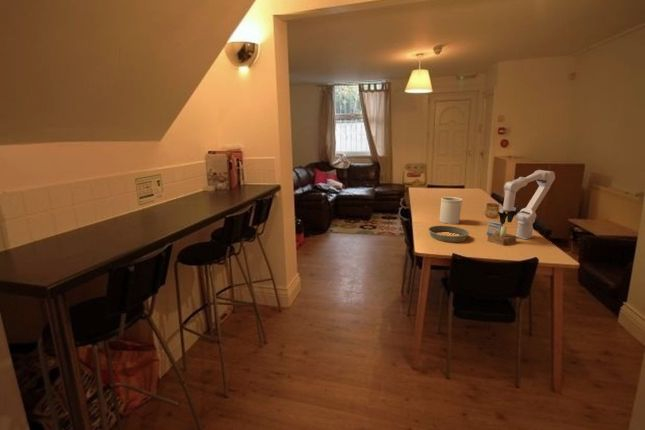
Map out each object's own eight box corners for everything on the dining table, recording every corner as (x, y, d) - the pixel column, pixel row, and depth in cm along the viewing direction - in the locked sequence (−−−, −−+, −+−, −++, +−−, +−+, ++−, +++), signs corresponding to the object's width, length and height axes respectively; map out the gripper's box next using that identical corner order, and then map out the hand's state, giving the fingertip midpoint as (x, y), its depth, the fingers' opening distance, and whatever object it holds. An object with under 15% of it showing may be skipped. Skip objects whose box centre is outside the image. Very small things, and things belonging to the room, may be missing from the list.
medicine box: (486, 234, 229) (488, 221, 227) (488, 233, 232) (490, 220, 230) (499, 237, 223) (500, 224, 221) (501, 235, 226) (503, 222, 224)
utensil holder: (456, 219, 266) (459, 196, 261) (462, 224, 251) (465, 200, 247) (437, 218, 267) (439, 196, 263) (441, 224, 253) (443, 200, 248)
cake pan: (449, 230, 238) (450, 223, 237) (477, 240, 216) (477, 233, 215) (419, 233, 230) (420, 227, 228) (444, 245, 207) (445, 237, 206)
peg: (500, 240, 217) (502, 226, 215) (505, 241, 215) (507, 227, 212) (498, 241, 215) (500, 227, 213) (503, 242, 213) (505, 228, 211)
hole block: (500, 237, 223) (501, 232, 222) (515, 241, 215) (516, 236, 214) (487, 240, 215) (488, 235, 215) (502, 245, 207) (503, 239, 206)
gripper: (508, 203, 207) (505, 225, 210) (522, 201, 215) (518, 223, 218) (497, 201, 213) (494, 223, 216) (510, 199, 220) (507, 220, 224)
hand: (505, 222), depth 217 cm, fingers open, 7 cm apart
